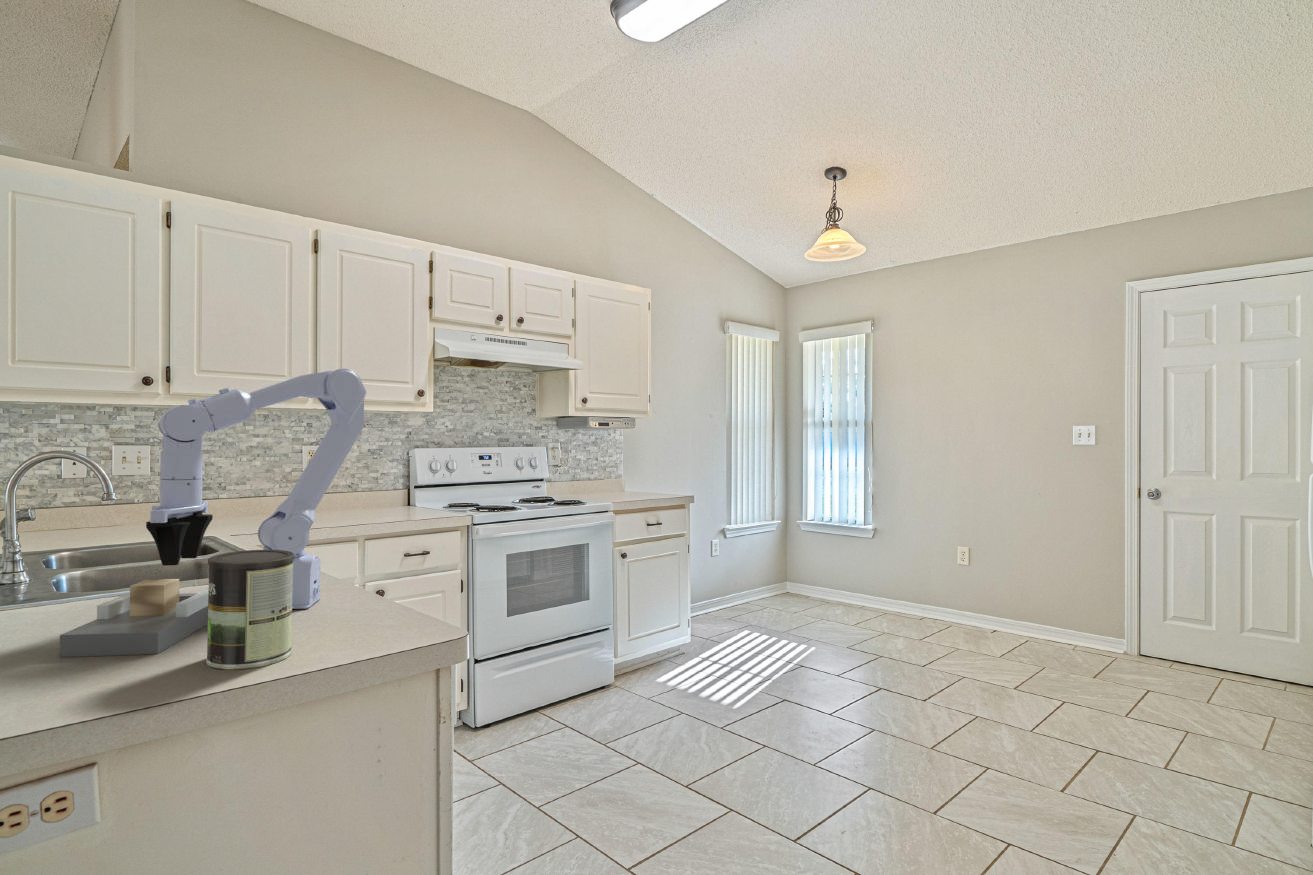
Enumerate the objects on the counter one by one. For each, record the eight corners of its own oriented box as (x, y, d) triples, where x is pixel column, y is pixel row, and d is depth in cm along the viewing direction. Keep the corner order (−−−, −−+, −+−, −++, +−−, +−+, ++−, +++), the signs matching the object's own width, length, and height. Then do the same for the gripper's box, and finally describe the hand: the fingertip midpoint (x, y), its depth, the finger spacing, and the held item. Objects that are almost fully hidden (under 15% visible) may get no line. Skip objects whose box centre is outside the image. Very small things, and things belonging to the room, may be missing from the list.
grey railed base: (232, 609, 120) (232, 581, 120) (157, 653, 96) (158, 617, 96) (155, 611, 118) (155, 582, 118) (59, 657, 94) (60, 620, 94)
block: (179, 607, 109) (179, 578, 109) (163, 615, 104) (164, 585, 104) (146, 608, 108) (147, 579, 108) (129, 616, 104) (130, 585, 104)
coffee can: (198, 674, 89) (200, 564, 88) (214, 650, 98) (215, 551, 98) (289, 665, 93) (291, 560, 93) (295, 643, 102) (297, 547, 102)
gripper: (177, 475, 120) (175, 553, 120) (128, 481, 106) (127, 570, 106) (221, 476, 121) (220, 553, 121) (179, 482, 107) (178, 569, 107)
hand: (180, 561), depth 114 cm, fingers open, 6 cm apart
